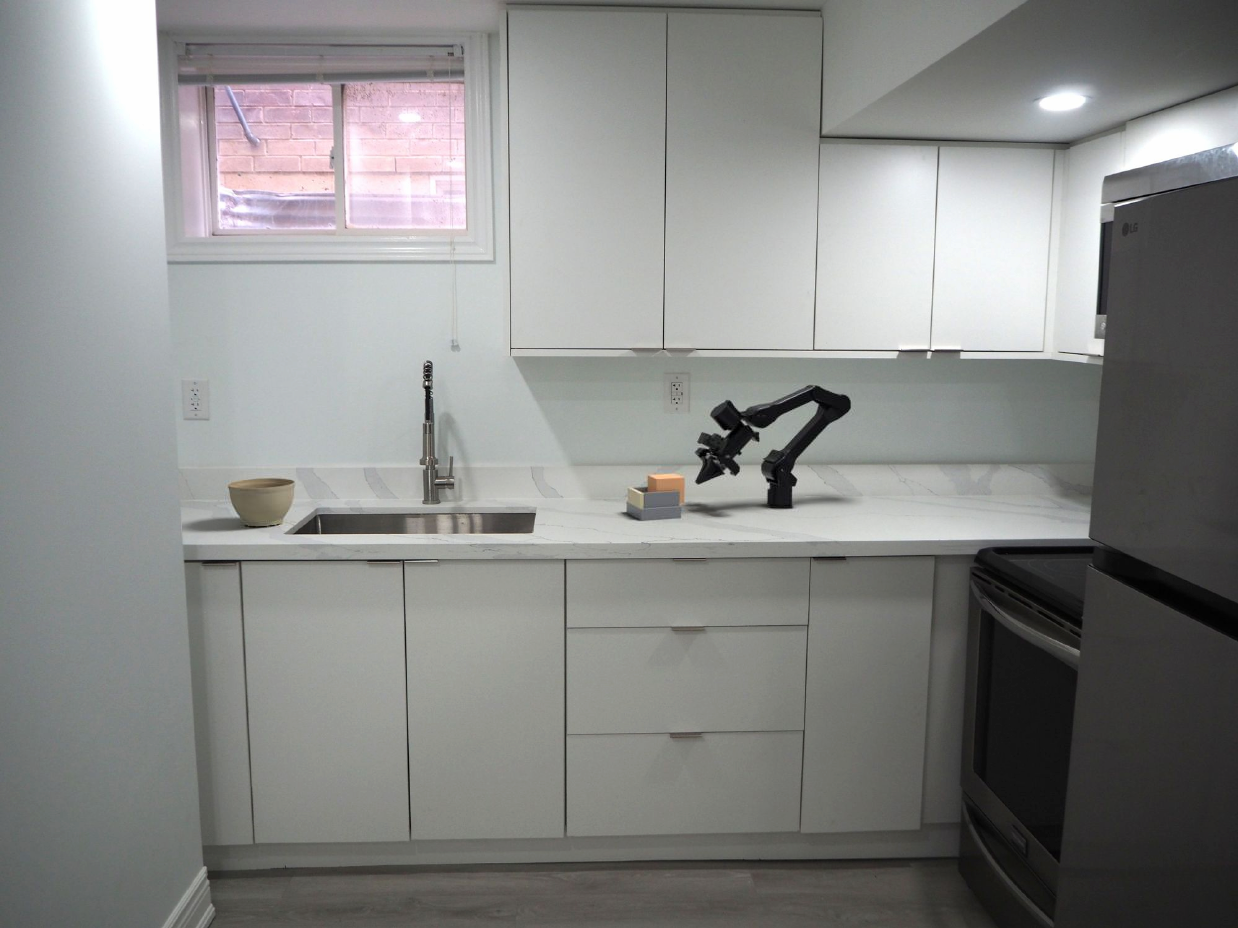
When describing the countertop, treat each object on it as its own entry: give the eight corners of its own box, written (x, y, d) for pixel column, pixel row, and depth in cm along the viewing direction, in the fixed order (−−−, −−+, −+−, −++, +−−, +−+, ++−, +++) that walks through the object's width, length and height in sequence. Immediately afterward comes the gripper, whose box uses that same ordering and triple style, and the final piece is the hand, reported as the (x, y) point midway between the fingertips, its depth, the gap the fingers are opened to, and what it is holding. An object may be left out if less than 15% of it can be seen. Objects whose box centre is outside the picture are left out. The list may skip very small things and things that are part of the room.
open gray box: (664, 509, 259) (664, 484, 258) (680, 517, 248) (681, 491, 247) (626, 512, 256) (626, 486, 255) (641, 520, 244) (641, 494, 243)
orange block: (674, 498, 257) (674, 473, 256) (684, 503, 250) (684, 477, 249) (647, 500, 255) (647, 475, 253) (656, 504, 248) (656, 479, 247)
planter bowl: (257, 533, 230) (254, 490, 228) (217, 526, 238) (214, 484, 237) (310, 522, 243) (308, 481, 241) (270, 515, 252) (268, 475, 250)
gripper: (702, 419, 263) (665, 458, 261) (730, 425, 245) (691, 468, 243) (726, 445, 266) (690, 485, 264) (756, 454, 249) (717, 496, 247)
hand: (696, 483), depth 255 cm, fingers closed
